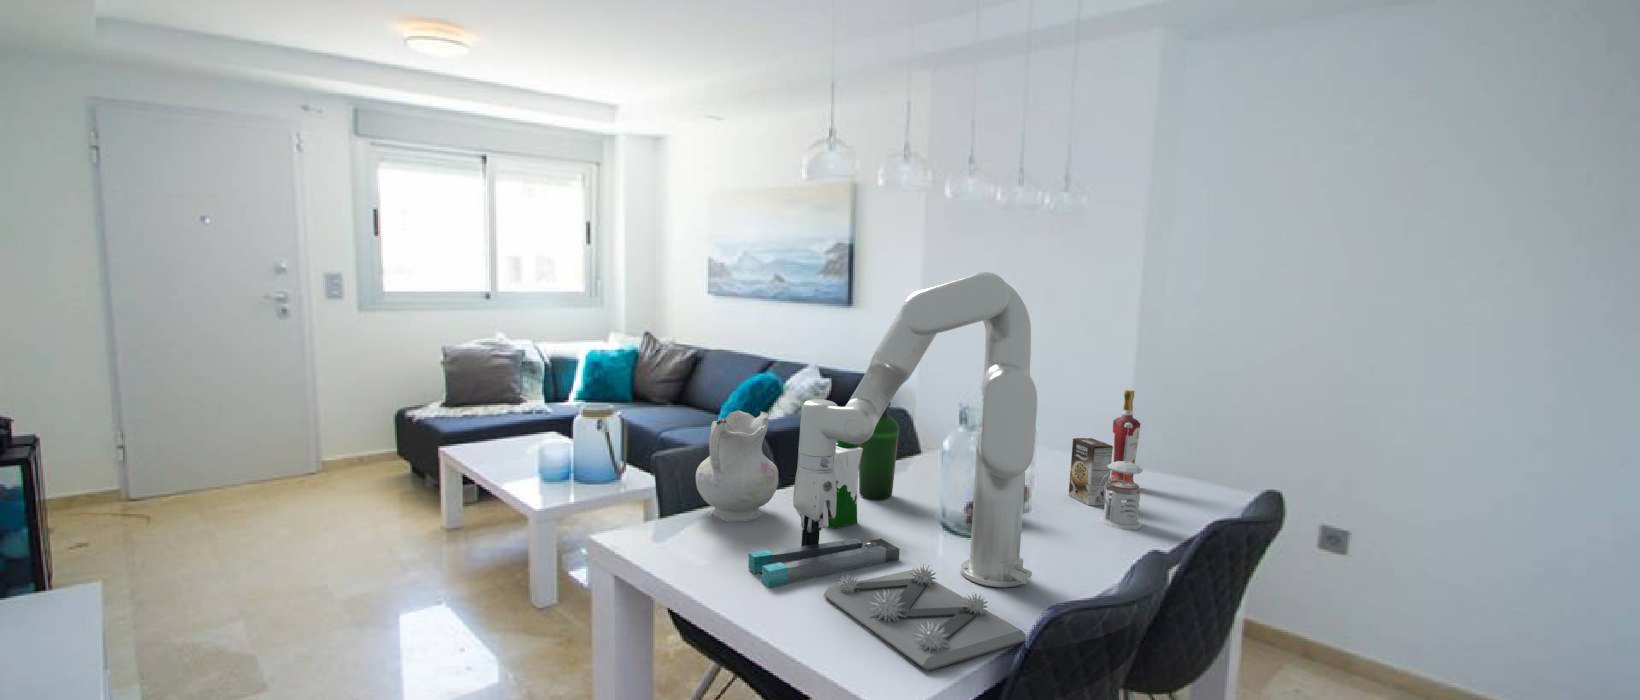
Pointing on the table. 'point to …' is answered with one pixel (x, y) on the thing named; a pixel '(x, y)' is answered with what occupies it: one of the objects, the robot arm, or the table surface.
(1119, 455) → the liquor
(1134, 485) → the french press
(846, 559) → the base
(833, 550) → the tongs arm
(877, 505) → the table surface
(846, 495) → the milk carton
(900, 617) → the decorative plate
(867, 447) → the bottle
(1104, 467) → the cookie box
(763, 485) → the ceramic pitcher
